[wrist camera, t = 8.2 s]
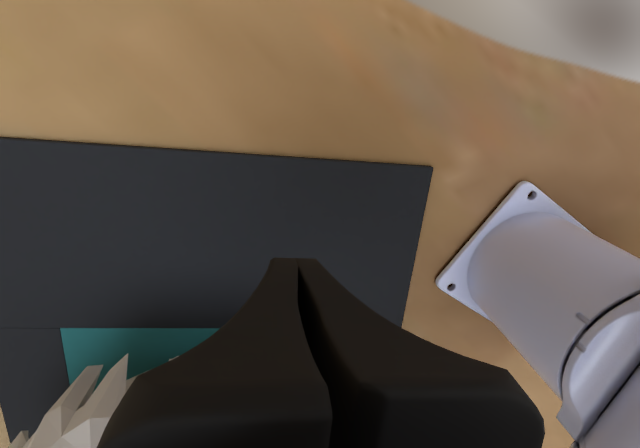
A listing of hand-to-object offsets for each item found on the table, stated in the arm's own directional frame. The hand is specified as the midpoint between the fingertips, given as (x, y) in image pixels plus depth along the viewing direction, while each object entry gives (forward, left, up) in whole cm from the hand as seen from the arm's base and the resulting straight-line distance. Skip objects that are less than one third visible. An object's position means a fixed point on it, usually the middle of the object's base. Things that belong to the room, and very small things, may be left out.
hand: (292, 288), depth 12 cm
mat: (-3, +13, -10) cm, 17 cm away
